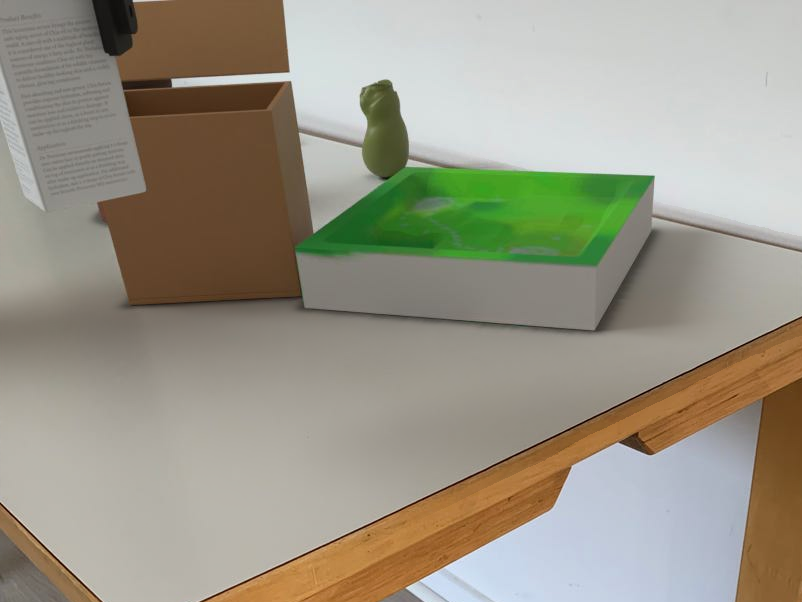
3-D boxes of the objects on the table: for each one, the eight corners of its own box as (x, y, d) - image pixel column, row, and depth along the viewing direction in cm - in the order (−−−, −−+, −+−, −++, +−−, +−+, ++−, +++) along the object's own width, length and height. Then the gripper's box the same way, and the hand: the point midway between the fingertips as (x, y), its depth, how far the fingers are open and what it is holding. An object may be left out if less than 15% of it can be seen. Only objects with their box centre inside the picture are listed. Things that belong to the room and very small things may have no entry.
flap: (106, 3, 83) (108, 4, 83) (117, 80, 85) (119, 81, 85) (281, -7, 83) (282, -5, 83) (289, 71, 84) (289, 72, 85)
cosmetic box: (122, 178, 59) (63, -66, 51) (149, 194, 56) (91, -61, 49) (20, 198, 56) (-58, -57, 49) (43, 215, 54) (-36, -51, 46)
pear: (395, 184, 111) (386, 85, 105) (355, 181, 113) (344, 83, 107) (419, 172, 115) (411, 75, 109) (380, 168, 117) (370, 73, 111)
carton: (129, 305, 85) (79, 120, 76) (161, 259, 94) (120, 90, 85) (301, 296, 85) (271, 110, 76) (316, 251, 94) (291, 80, 85)
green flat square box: (651, 231, 94) (654, 175, 91) (594, 330, 76) (596, 265, 73) (409, 219, 101) (405, 166, 98) (304, 307, 83) (294, 247, 80)
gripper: (-355, -454, 37) (-151, 73, 49) (98, -469, 37) (196, 62, 49) (-247, -417, 43) (-87, 47, 55) (145, -430, 43) (223, 37, 55)
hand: (45, 51), depth 52 cm, fingers closed on cosmetic box, 7 cm apart
